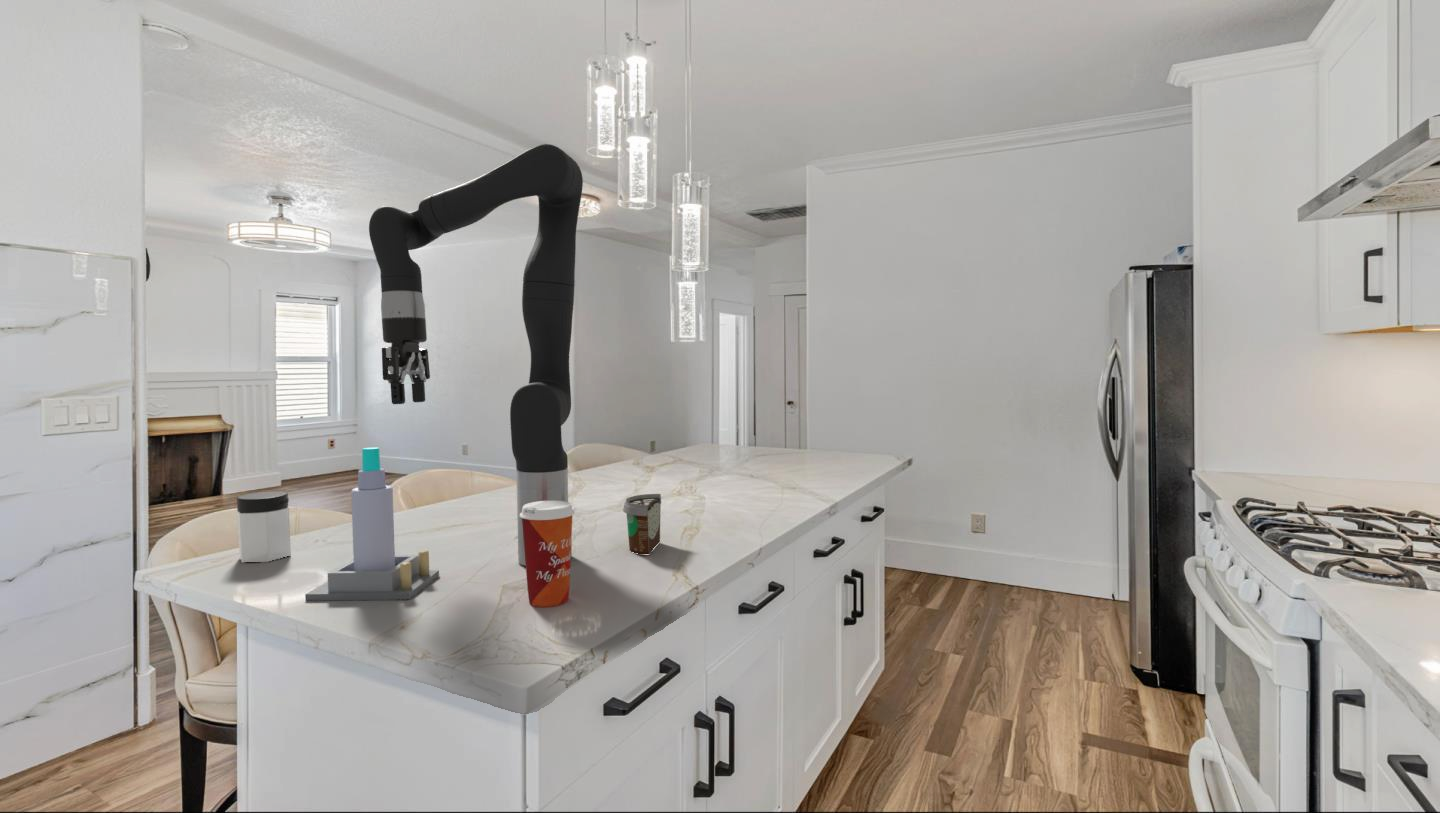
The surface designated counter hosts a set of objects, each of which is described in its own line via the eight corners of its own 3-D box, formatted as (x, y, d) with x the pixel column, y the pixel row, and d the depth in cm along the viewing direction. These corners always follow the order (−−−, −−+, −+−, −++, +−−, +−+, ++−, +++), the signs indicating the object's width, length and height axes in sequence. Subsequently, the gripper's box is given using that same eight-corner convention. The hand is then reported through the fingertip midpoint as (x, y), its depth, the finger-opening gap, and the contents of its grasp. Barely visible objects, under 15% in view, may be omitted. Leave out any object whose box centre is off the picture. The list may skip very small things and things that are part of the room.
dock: (439, 576, 120) (438, 547, 119) (409, 599, 108) (408, 568, 108) (345, 577, 120) (344, 548, 119) (305, 600, 108) (304, 569, 107)
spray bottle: (372, 589, 110) (367, 451, 109) (346, 584, 112) (341, 449, 111) (403, 578, 115) (399, 447, 114) (377, 574, 118) (373, 445, 116)
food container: (632, 540, 144) (632, 492, 143) (661, 541, 143) (661, 493, 142) (615, 556, 132) (614, 504, 131) (647, 557, 131) (646, 505, 130)
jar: (294, 558, 131) (291, 495, 131) (242, 566, 126) (239, 501, 125) (287, 548, 138) (284, 489, 137) (237, 556, 133) (234, 494, 132)
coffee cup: (548, 613, 101) (546, 512, 101) (509, 603, 106) (507, 506, 105) (587, 597, 109) (586, 502, 108) (550, 588, 113) (548, 497, 112)
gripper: (406, 313, 123) (412, 404, 124) (439, 319, 137) (444, 400, 138) (364, 315, 123) (370, 405, 124) (401, 320, 137) (406, 402, 138)
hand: (409, 403), depth 131 cm, fingers open, 8 cm apart
